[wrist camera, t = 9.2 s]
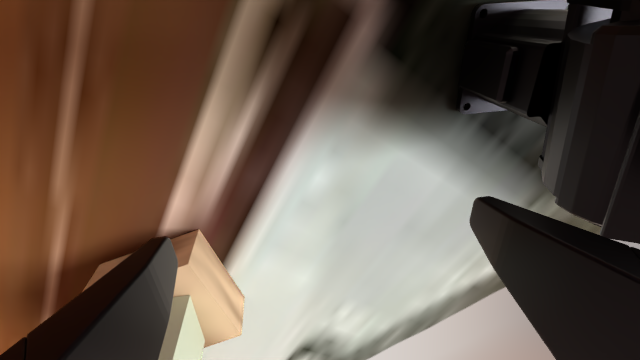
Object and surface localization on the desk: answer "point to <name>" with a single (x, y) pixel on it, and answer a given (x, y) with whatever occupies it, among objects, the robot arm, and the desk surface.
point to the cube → (182, 332)
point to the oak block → (201, 287)
